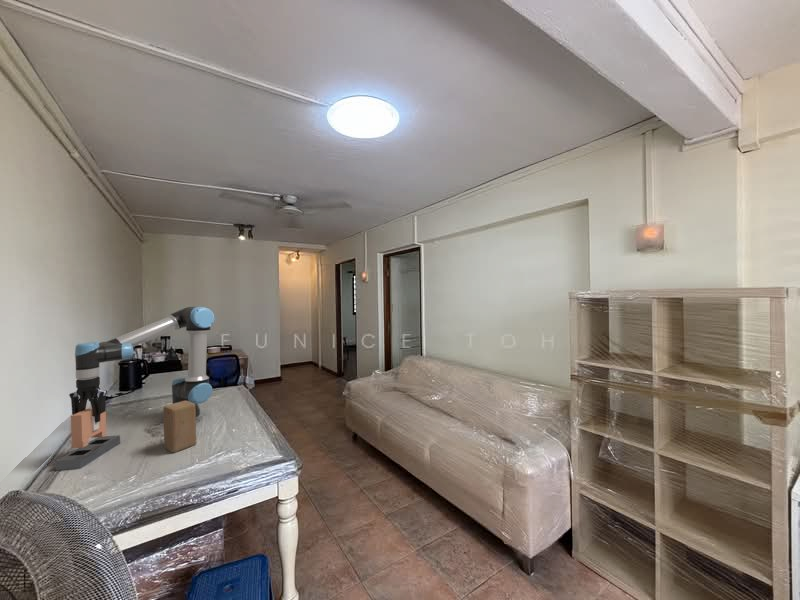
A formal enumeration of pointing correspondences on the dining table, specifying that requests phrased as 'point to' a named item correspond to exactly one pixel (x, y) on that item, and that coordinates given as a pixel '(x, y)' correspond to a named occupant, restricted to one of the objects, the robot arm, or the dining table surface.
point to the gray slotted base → (87, 453)
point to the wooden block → (179, 425)
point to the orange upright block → (85, 428)
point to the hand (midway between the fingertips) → (89, 429)
